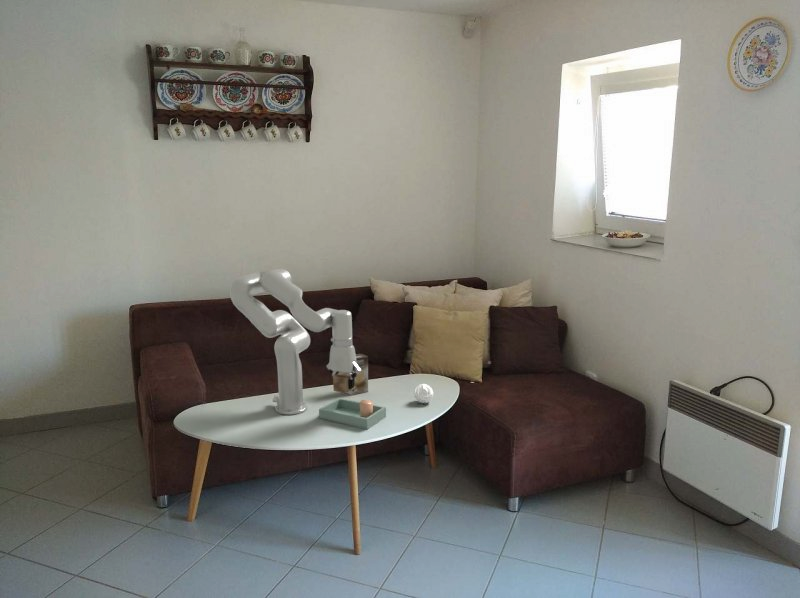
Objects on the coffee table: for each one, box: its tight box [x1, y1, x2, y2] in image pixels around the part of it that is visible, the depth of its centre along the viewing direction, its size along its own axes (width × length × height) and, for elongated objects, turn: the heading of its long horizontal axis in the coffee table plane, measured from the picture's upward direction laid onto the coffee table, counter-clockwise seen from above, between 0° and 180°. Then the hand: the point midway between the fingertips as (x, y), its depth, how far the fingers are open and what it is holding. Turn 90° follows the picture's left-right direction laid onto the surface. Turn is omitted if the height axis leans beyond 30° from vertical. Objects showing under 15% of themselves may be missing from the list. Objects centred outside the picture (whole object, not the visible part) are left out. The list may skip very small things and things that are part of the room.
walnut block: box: [332, 372, 355, 394], centre depth 244 cm, size 6×6×6 cm
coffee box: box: [346, 353, 369, 396], centre depth 273 cm, size 9×6×16 cm
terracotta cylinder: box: [359, 399, 374, 418], centre depth 241 cm, size 5×5×7 cm
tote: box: [318, 397, 387, 431], centre depth 245 cm, size 22×14×4 cm, turn 62°
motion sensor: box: [413, 383, 434, 404], centre depth 261 cm, size 8×8×8 cm
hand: (344, 386), depth 245 cm, fingers closed on walnut block, 6 cm apart
